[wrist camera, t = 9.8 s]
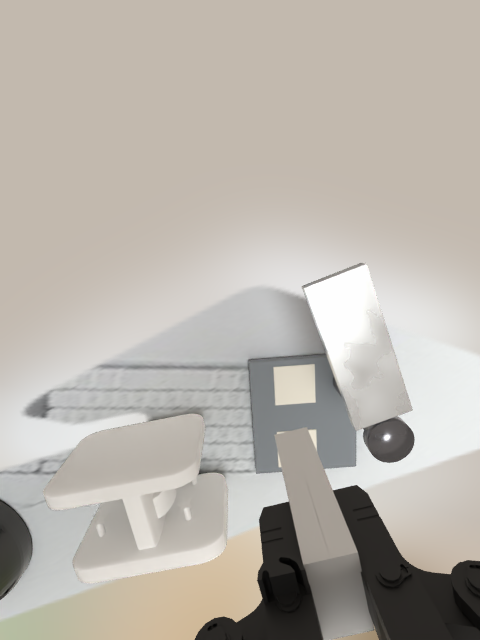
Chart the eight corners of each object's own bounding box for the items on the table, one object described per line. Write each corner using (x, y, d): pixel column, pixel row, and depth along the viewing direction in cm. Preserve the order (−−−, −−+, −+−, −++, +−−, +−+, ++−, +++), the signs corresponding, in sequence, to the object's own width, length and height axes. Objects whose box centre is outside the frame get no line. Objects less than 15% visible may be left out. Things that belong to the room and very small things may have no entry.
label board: (255, 468, 43) (264, 552, 31) (248, 359, 40) (254, 407, 28) (353, 461, 43) (397, 542, 32) (353, 352, 40) (402, 397, 29)
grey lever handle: (301, 286, 26) (304, 288, 25) (360, 263, 26) (366, 264, 25) (364, 461, 29) (370, 470, 28) (418, 442, 29) (425, 451, 28)
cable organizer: (211, 405, 41) (202, 466, 30) (229, 482, 44) (228, 566, 32) (87, 429, 42) (32, 498, 30) (111, 504, 44) (69, 595, 33)
